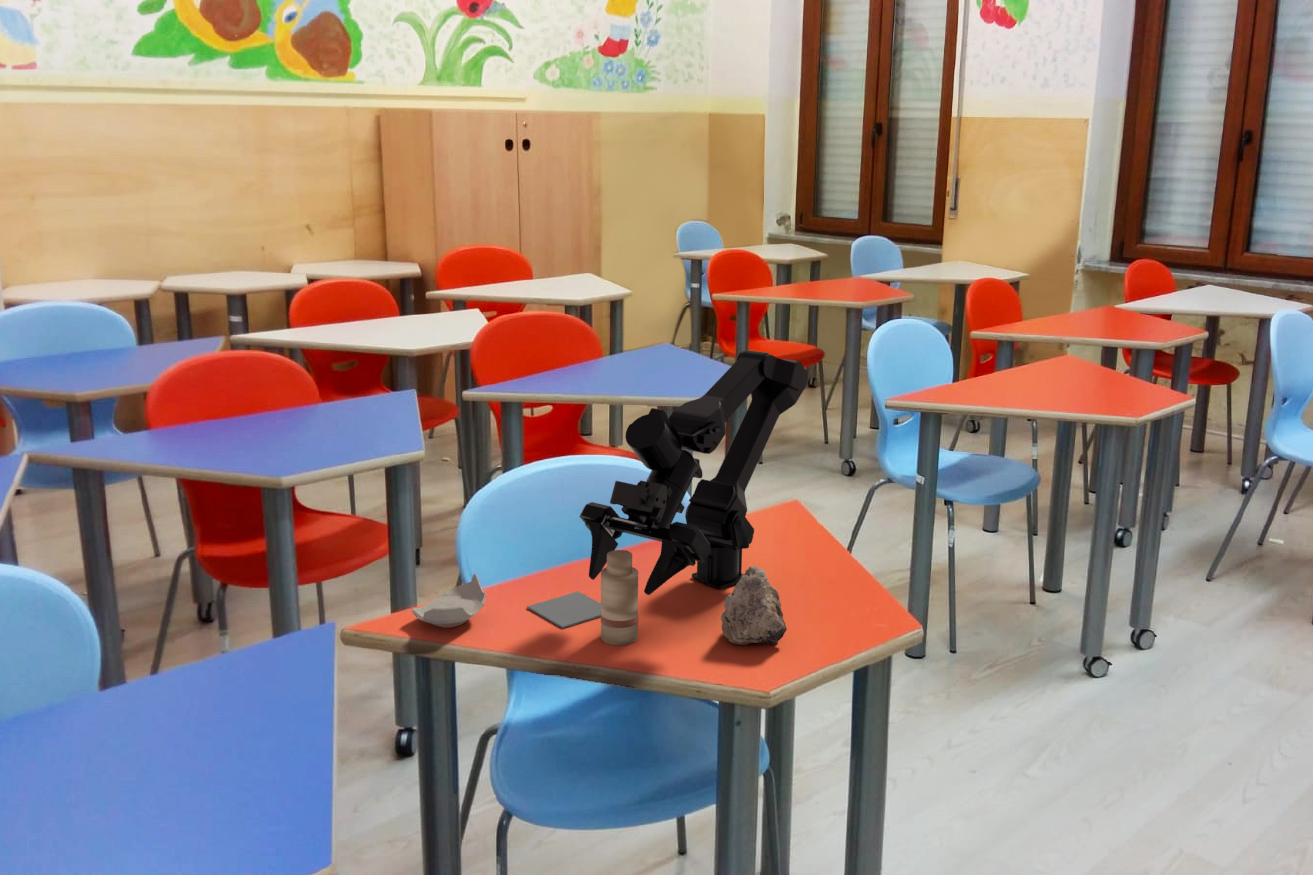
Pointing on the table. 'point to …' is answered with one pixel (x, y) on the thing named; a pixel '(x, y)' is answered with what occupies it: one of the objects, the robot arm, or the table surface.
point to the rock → (753, 611)
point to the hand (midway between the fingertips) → (618, 585)
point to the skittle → (619, 599)
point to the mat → (568, 609)
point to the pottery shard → (454, 605)
